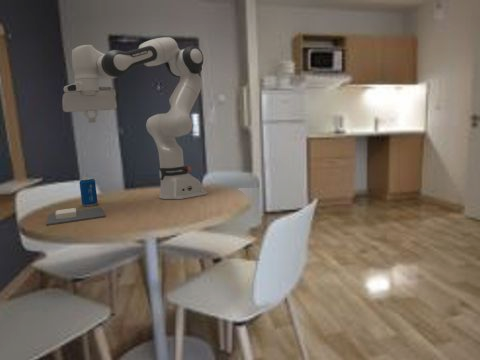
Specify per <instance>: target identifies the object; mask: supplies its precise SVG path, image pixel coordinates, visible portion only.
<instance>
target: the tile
mask: <svg viewBox="0 0 480 360" xmlns="http://www.w3.org/2000/svg"><path fill="white" fill-rule="evenodd" d="M76 210H77V209H76V207H73V208H72V207H71V208H66V209H58V210H56V211H55V213H56V220H57V219H64V218H72V217H77V215H76Z"/></svg>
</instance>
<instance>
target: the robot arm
mask: <svg viewBox="0 0 480 360" xmlns="http://www.w3.org/2000/svg"><path fill="white" fill-rule="evenodd" d="M71 63H72V69H73V73H74V83H70V84H69V85H65V86H64V87H63V92H64V93H63V95H62V99H61V100H62V103H61V104H62V111H63V112H64V113H73V112H75V113H76V112H77V113H78V112H83V115H85V117H86V118H87V122H88V123H97V116H98V115H99V111H114V110H116V109H117V108H118V105H117V99H116V96H117V94H116V90H115V88H113V87H111V86H100V81H99V80H105V81H107V80H112V79H115V78H121V77H124V76H126V75H127V74H128V73H129V72H130V71H131V70H132V69H133V68H135V67H138V66H142V65H144V66H145V67H155V66H159V65H163V64H164V66H165V68H166V71H167V73H168V74H169V76H171V77H172V78H179V82H178V83H177V85H176V86H175V89H174V90H173V92H172V94H171V95H170V97H169V100H168V101H169V105H170V109H169V110H168V112H166V113H157V114H155V115H152V116H150V117H149V118H148V119H147V121H146V124H145V127H146V131H147V133H148V134H150V136H151V137H152V138H153V141H154V142H155V145H156V148H157V151H158V159H159V168H158V169H159V170H158V171H159V174H158V175H159V180H160V190H159V196H158V198H159V199H162V200H163V199H164V200H183V199H188V198H189V199H190V198H193V197H194V198H195V197H200V196H205V195H207V194H208V192H207V190H205V189H203V187H202V183H201V181H200V180H199V179H198V178H196V177H194V176H193V175H192V174H190V173H189V172H191V171H192V167H190V166H186V165H185V163H184V151H183V149H182V147H181V146H180V145H179V144H178V142H177V140H176V138H180V137H182V136H186V135H189V133H190V132H191V131H192V128H193V120H192V119H191V117H190V115H191V111H192V109H193V107H194V104H195V102H196V101H197V99H198V96H199V94H200V93H201V89H202V86H203V79H202V78H201V76H200V75H199V74H200V73H201V72H202V70H203V65H204V54H203V52H202V50H201V49H200V48H199V47H198V46H194V45H193V46H191V45H190V46H187V47H185V48H183V49H180V48H179V46H178V43H177V41H176V40H175V39H174V38H172V37H168V36H166V37H165V36H163V37H157V38H156V37H155V38H152V39H149V40H147V41H144V42H142V43H141V44H139V46H138V48H136V49H131V50H128V51H125V50H124V51H123V50H119V49H118V50H117V49H112V50H109V51H108V52H107V53H103V52H101V51H99V50H97V49H96V48H95V47H94V46H93V45H92V44H88V43H86V44H85V43H83V44H80V45H76V46H75V47H73V48H72V51H71ZM89 112H93V113H94V117H90V116H89V115H88V114H89Z"/></svg>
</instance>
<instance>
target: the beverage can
mask: <svg viewBox="0 0 480 360" xmlns="http://www.w3.org/2000/svg"><path fill="white" fill-rule="evenodd" d="M78 184H79V189H80V199H81V205H83V207H93V205H94V206H96V205H97V204H98V194H97V185H96V180H95V179H94V177H85V178H80V179H79V183H78Z"/></svg>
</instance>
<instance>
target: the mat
mask: <svg viewBox="0 0 480 360" xmlns="http://www.w3.org/2000/svg"><path fill="white" fill-rule="evenodd" d="M76 215H77V217H72V218H64V219H57V220H56V212H54V213H48V215H47V219H46V226H53V225H60V224H67V223H73V222H81V221H88V220H94V219H101V218H107V217H106V216H107V215H106V213H105V211H104V209H103V207H102V206H99V207H92V208H91V207H90V208H86V209H85V208H83V209H76Z"/></svg>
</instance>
